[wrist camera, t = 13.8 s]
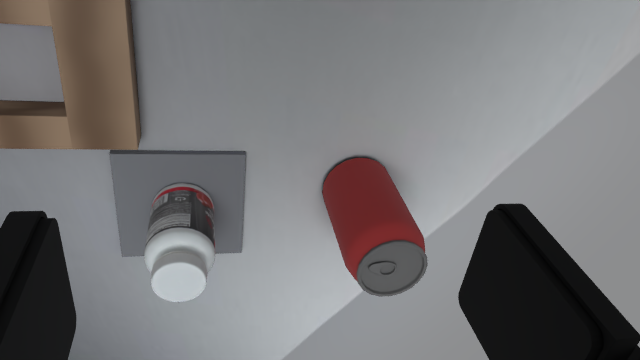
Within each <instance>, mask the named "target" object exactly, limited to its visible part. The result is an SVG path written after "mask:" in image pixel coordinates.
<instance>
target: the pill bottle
mask: <svg viewBox="0 0 640 360" xmlns="http://www.w3.org/2000/svg"><path fill="white" fill-rule="evenodd" d="M214 231H215V230H214V206H213V202H212V199H211V198H210V196H209V194H208V193H207V192H205V191H204V190H203V189H201V188H200V187H198V186H195V185H192V184H186V183H178V184H173V185H170V186H167V187H165V188H164V189H162V190H161V191H160V192H159V193H158V194H157V195H156V197H155V198H154V200H153V203H152V208H151V213H150V220H149V226H148V233H147V239H146V245H145V251H144V259H145V264H146V267H147V268H148V270H149V271H150V273H151V285H152V289H153V290H154V292H155V293H156V294H157V295H158V296H159V297H161V298H163V299H165V300H168V301H172V302H184V301H188V300H191V299H193V298H195V297H197V296H198V295H200V294H201V293H202V292H203V290H204V289H205V286H206V282H207V273H208V272H209V271H210V270H211V268H212V266H213V264H214V260H215V233H214Z"/></svg>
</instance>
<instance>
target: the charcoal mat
mask: <svg viewBox="0 0 640 360" xmlns="http://www.w3.org/2000/svg"><path fill="white" fill-rule="evenodd" d="M109 155H110V163H111V171H112V180H113V188H114V196H115V204H116V212H117V220H118V229H119V237H120V245H121V253H122V257H128V256H144V251H145V245H146V239H147V233H148V226H149V220H150V213H151V208H152V203H153V200H154V198H155V197H156V195H157V194H158V193H159V192H160V191H161V190H162V189H164V188H165V187H167V186H170V185H173V184H178V183H186V184H192V185H195V186H198V187H200V188H201V189H203V190H204V191H205V192H207V193H208V194H209V196H210V198H211V199H212V202H213V206H214V230H215V231H214V233H215V254H216V253H242V229H243V206H244V182H245V158H246V154H245V151H131V150H110V154H109Z"/></svg>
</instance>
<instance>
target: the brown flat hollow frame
mask: <svg viewBox="0 0 640 360" xmlns="http://www.w3.org/2000/svg"><path fill="white" fill-rule="evenodd" d="M0 23H5V24H23V25H40V26H52V29H53V35H54V41H55V47H56V53H57V59H58V65H59V71H60V78H61V84H62V90H63V96H64V102H37V101H0V148H6V149H118V150H138V146H139V142H140V138H141V127H140V114H139V102H138V90H137V78H136V65H135V53H134V41H133V29H132V17H131V4H130V0H0Z"/></svg>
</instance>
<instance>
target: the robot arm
mask: <svg viewBox="0 0 640 360" xmlns="http://www.w3.org/2000/svg"><path fill="white" fill-rule="evenodd" d="M458 298H459V304H460V307H461V309H462V311H463V313H464V314H465V316H466V318H467V320H468V322H469V324H470V325H471V327H472V329H473V331H474V333H475V334H476V336H477V338H478V340H479V342H480V343H481V345H482V347H483V349H484V351H485V353H486V354H487V356H488V358H489V360H640V348H639V347H638V345H637V344H638V343H639V341H640V334H639V333H638V332H637V331H636V330H635V329H634V328H633V327H632V325H631V324H630V323H629V322H628V321H627V320H626V319H625V318H624V316H623V315H622V314H621V313H620V312H619V311H618V310H617V309H616V307H615V306H614V305H613V304H612V303H611V302H610V301H609V300H608V298H607V297H606V296H605V295H604V294H603V293H602V292H601V290H600V289H598V287H597V286H596V285H595V284H594V283H593V281H592V280H591V279H590V278H589V277H588V276H587V275H586V274H585V272H584V271H583V270H582V269H581V268H580V267H579V266H578V265H577V263H576V262H575V261H574V260H573V259H572V258H571V257H570V256H569V254H568V253H567V252H566V251H565V250H564V249H563V248H562V247H561V245H560V244H559V243H558V242H557V241H556V240H555V239H554V237H553V236H552V235H551V234H550V233H549V232H548V231H547V230H546V228H545V227H544V226H543V225H542V224H541V223H540V222H539V221H538V219H536V217H535V216H534V215H533V214H532V213H531V212H530V210H529V209H528V208H527V207H526V206H525V205H523V204H498V205H496V206H495V207H494V209H493V210H491V211H489V212H488V214H487V216H486V219H485V221H484V224H483V227H482V230H481V232H480V235H479V238H478V241H477V243H476V247H475V249H474V252H473V254H472V257H471V260H470V263H469V266H468V268H467V271H466V274H465V277H464V280H463V283H462V285H461V288H460V291H459V297H458ZM75 329H76V311H75V306H74V302H73V297H72V292H71V287H70V282H69V277H68V272H67V267H66V262H65V257H64V252H63V247H62V242H61V237H60V232H59V227H58V223H57V220H56V219H55V218H47V215H46V214H45V212H43V211H14V212H10V213H9V214H8V215H7V217H6V219H5V221H4V223H3V224H2V226H1V228H0V360H68V356H69V352H70V349H71V345H72V341H73V338H74V334H75Z"/></svg>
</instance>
